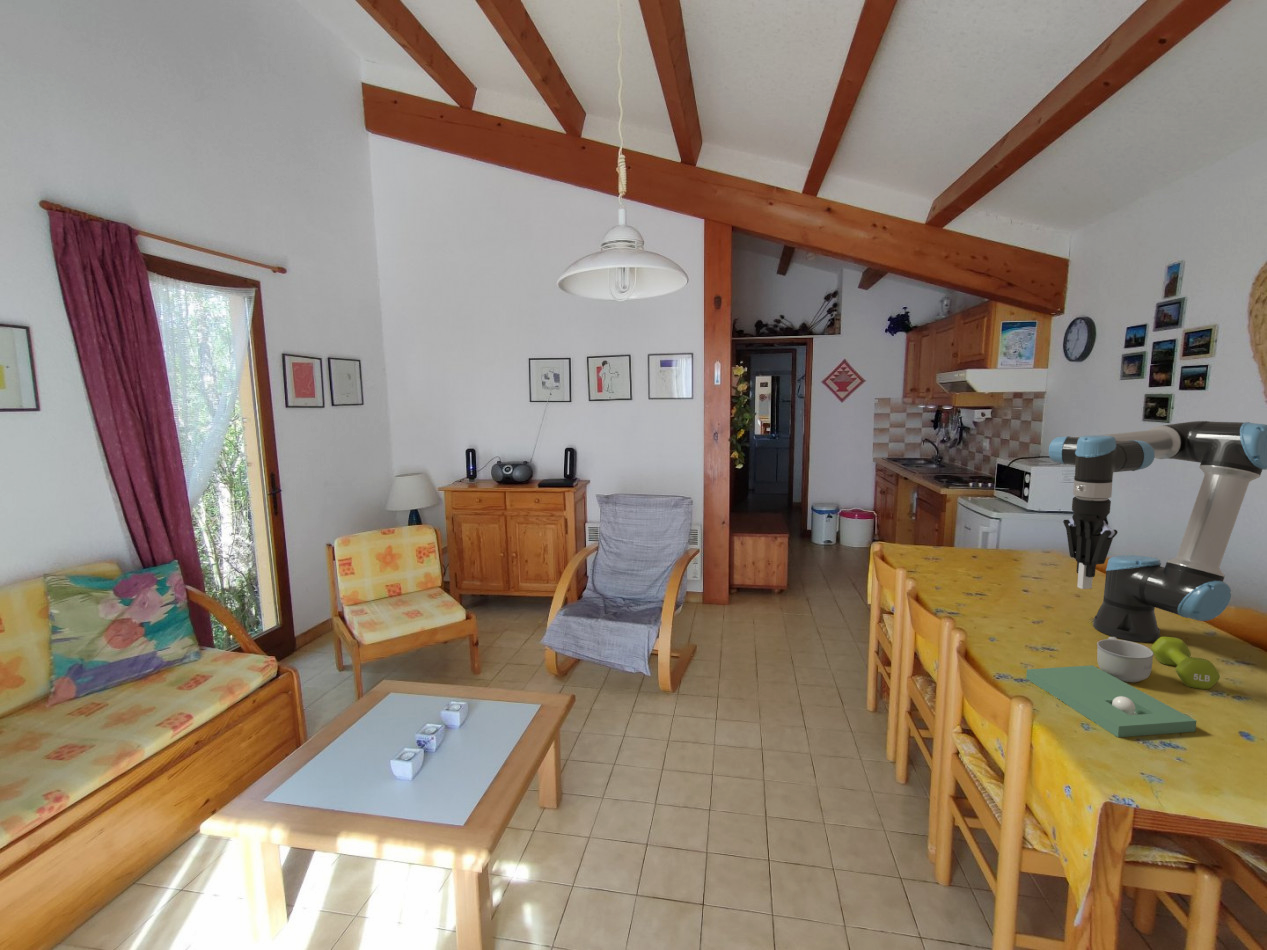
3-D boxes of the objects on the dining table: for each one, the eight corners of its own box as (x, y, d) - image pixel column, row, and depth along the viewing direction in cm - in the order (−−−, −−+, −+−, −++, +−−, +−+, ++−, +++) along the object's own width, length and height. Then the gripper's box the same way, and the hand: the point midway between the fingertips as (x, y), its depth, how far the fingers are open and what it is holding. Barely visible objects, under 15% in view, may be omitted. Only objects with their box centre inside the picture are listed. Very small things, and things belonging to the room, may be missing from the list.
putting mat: (1091, 674, 147) (1092, 665, 146) (1195, 731, 122) (1196, 720, 122) (1026, 678, 145) (1026, 669, 145) (1117, 737, 120) (1118, 726, 120)
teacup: (1154, 691, 138) (1158, 660, 137) (1097, 680, 144) (1100, 650, 143) (1142, 667, 150) (1145, 638, 149) (1089, 658, 156) (1092, 630, 154)
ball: (1119, 706, 131) (1127, 692, 130) (1135, 720, 127) (1143, 705, 126) (1104, 705, 130) (1112, 691, 129) (1119, 719, 127) (1127, 704, 125)
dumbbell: (1147, 658, 155) (1150, 633, 154) (1184, 663, 153) (1188, 637, 151) (1178, 687, 140) (1182, 660, 139) (1220, 693, 137) (1225, 665, 136)
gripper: (1055, 493, 149) (1049, 580, 153) (1102, 503, 137) (1094, 598, 140) (1081, 492, 150) (1075, 578, 154) (1130, 501, 138) (1121, 595, 141)
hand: (1084, 587), depth 147 cm, fingers closed
